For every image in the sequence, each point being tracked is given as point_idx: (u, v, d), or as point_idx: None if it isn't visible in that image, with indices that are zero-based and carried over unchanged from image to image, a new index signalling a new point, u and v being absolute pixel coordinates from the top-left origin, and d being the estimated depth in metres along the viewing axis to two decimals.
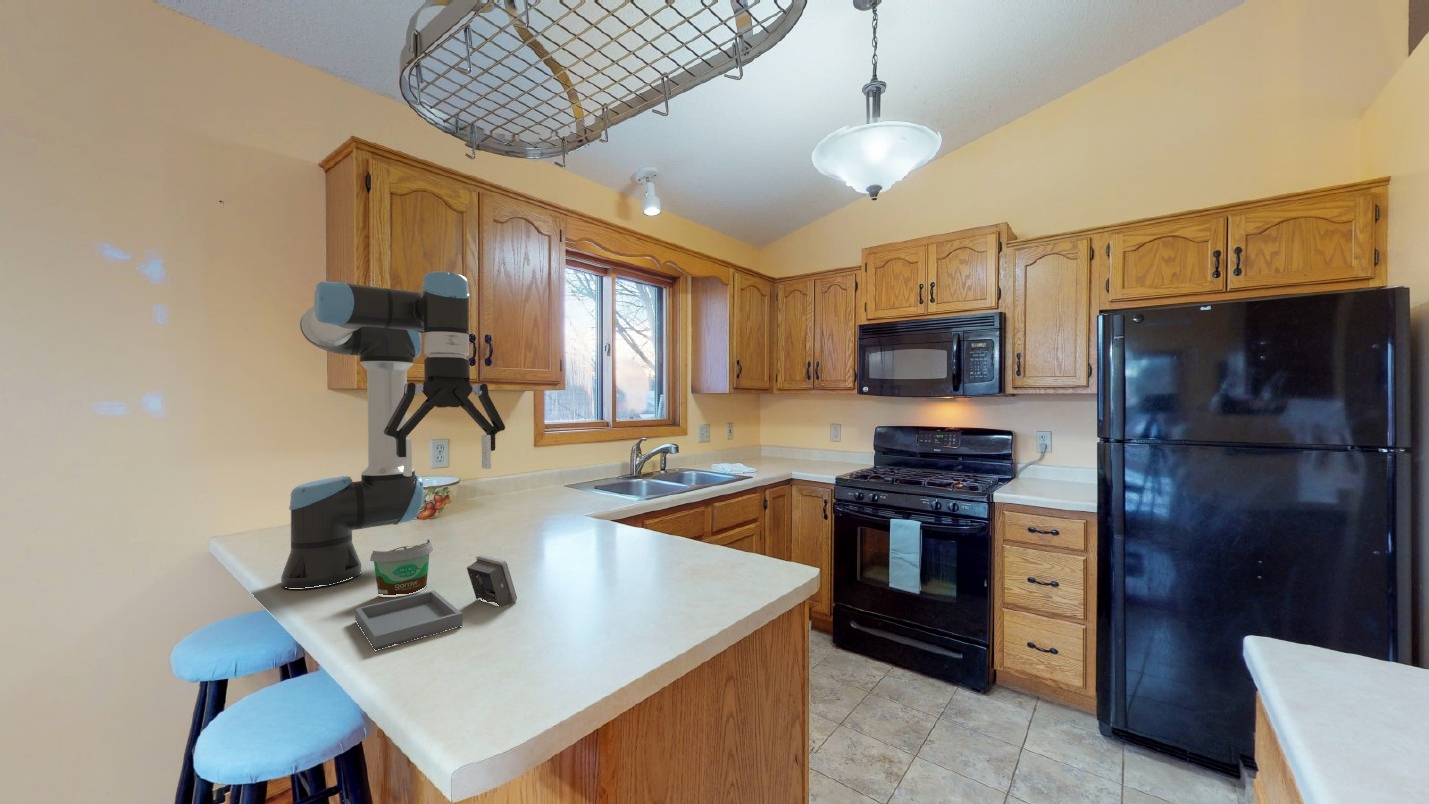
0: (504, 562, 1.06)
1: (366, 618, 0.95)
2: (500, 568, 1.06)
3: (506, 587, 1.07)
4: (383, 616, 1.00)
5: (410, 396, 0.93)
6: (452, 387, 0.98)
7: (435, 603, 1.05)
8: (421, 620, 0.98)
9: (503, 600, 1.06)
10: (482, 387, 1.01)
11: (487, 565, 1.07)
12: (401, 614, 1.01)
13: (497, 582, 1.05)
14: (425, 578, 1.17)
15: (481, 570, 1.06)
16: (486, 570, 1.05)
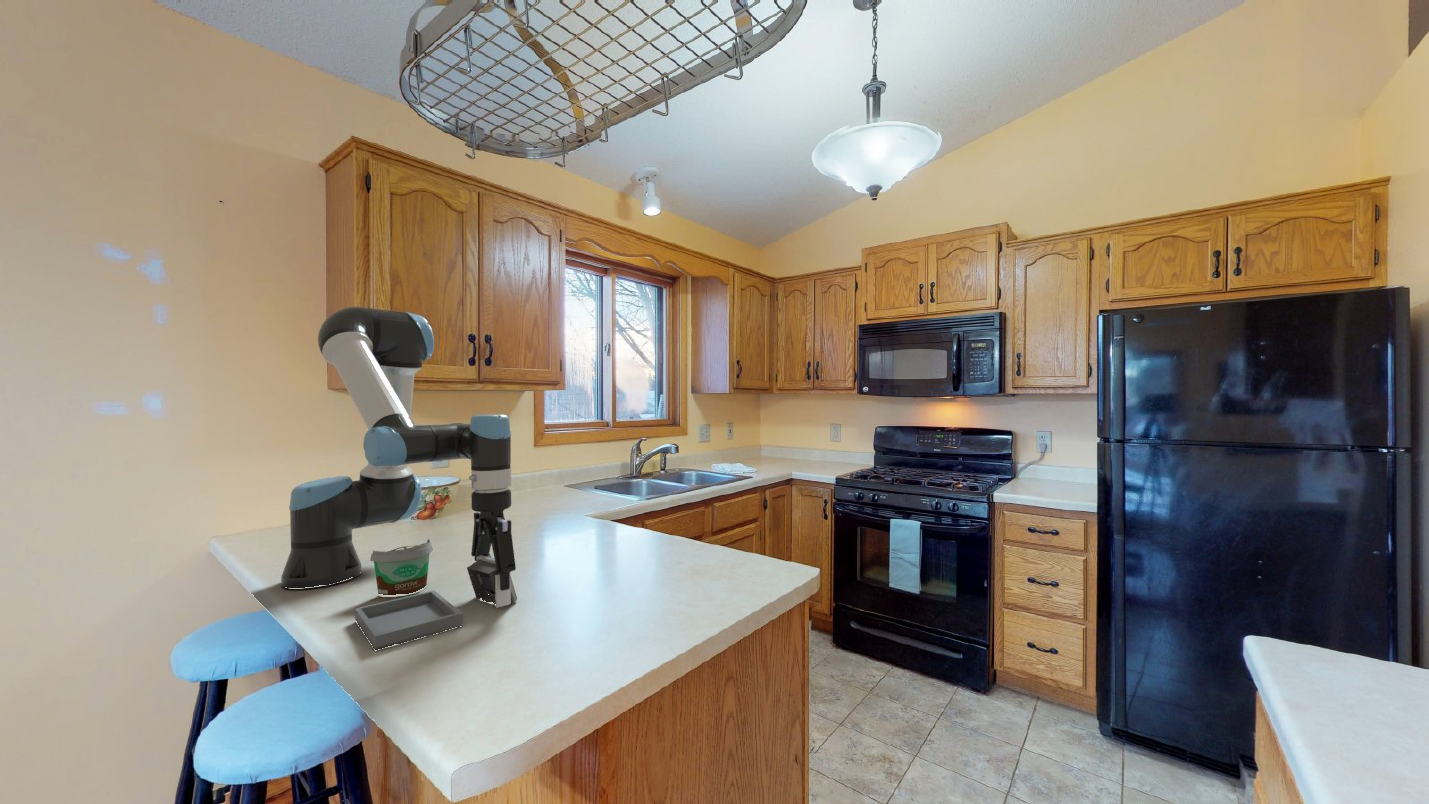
0: None
1: (366, 618, 0.95)
2: None
3: None
4: (383, 616, 1.00)
5: (475, 524, 1.12)
6: (487, 516, 1.07)
7: (435, 603, 1.05)
8: (421, 620, 0.98)
9: None
10: (497, 524, 1.03)
11: (487, 565, 1.07)
12: (401, 614, 1.01)
13: None
14: (425, 578, 1.17)
15: (481, 570, 1.05)
16: (486, 571, 1.05)
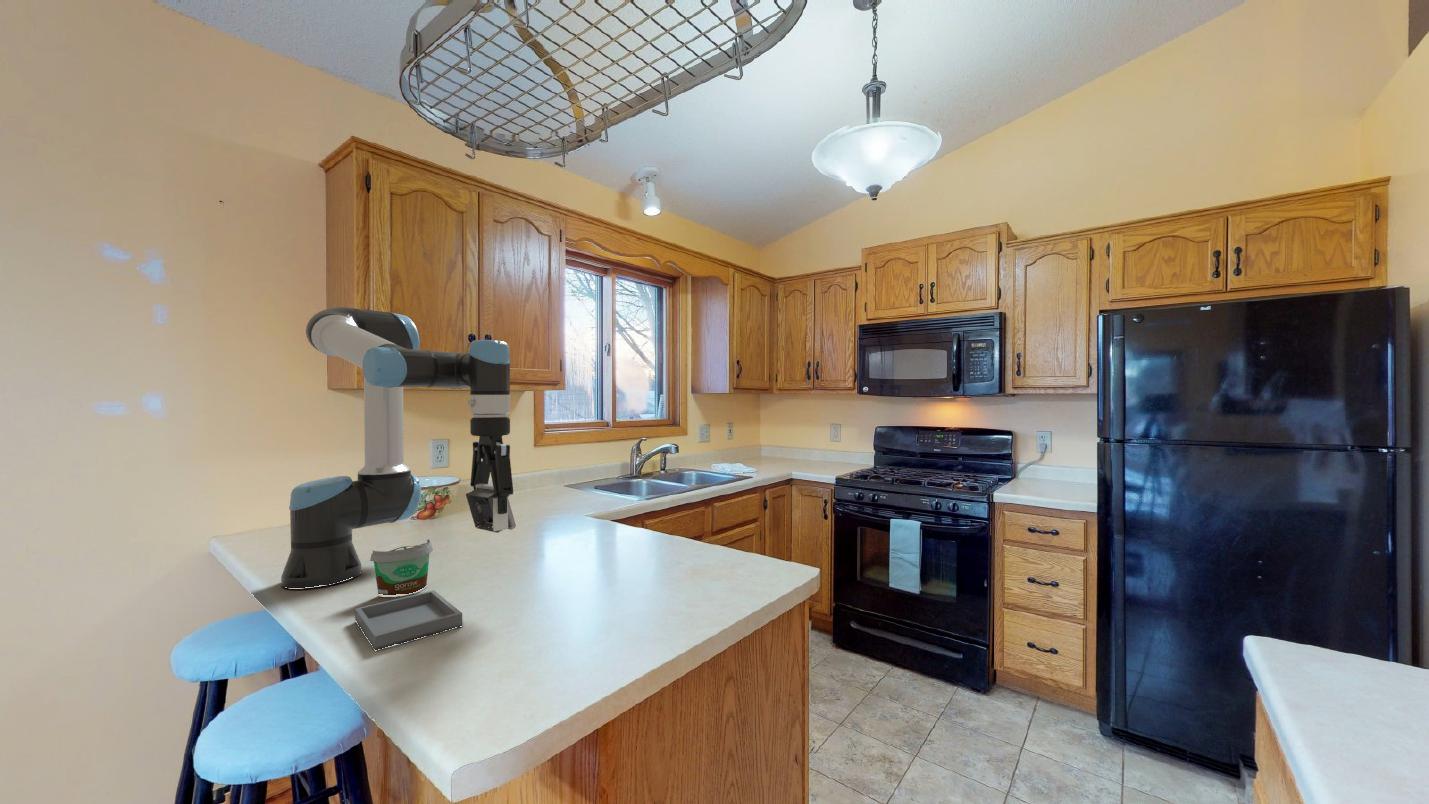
0: None
1: (366, 618, 0.95)
2: None
3: None
4: (383, 616, 1.00)
5: (474, 453, 1.12)
6: (486, 441, 1.07)
7: (435, 603, 1.05)
8: (421, 620, 0.98)
9: None
10: None
11: (486, 491, 1.07)
12: (401, 614, 1.01)
13: None
14: (425, 578, 1.17)
15: (480, 495, 1.05)
16: (485, 495, 1.05)
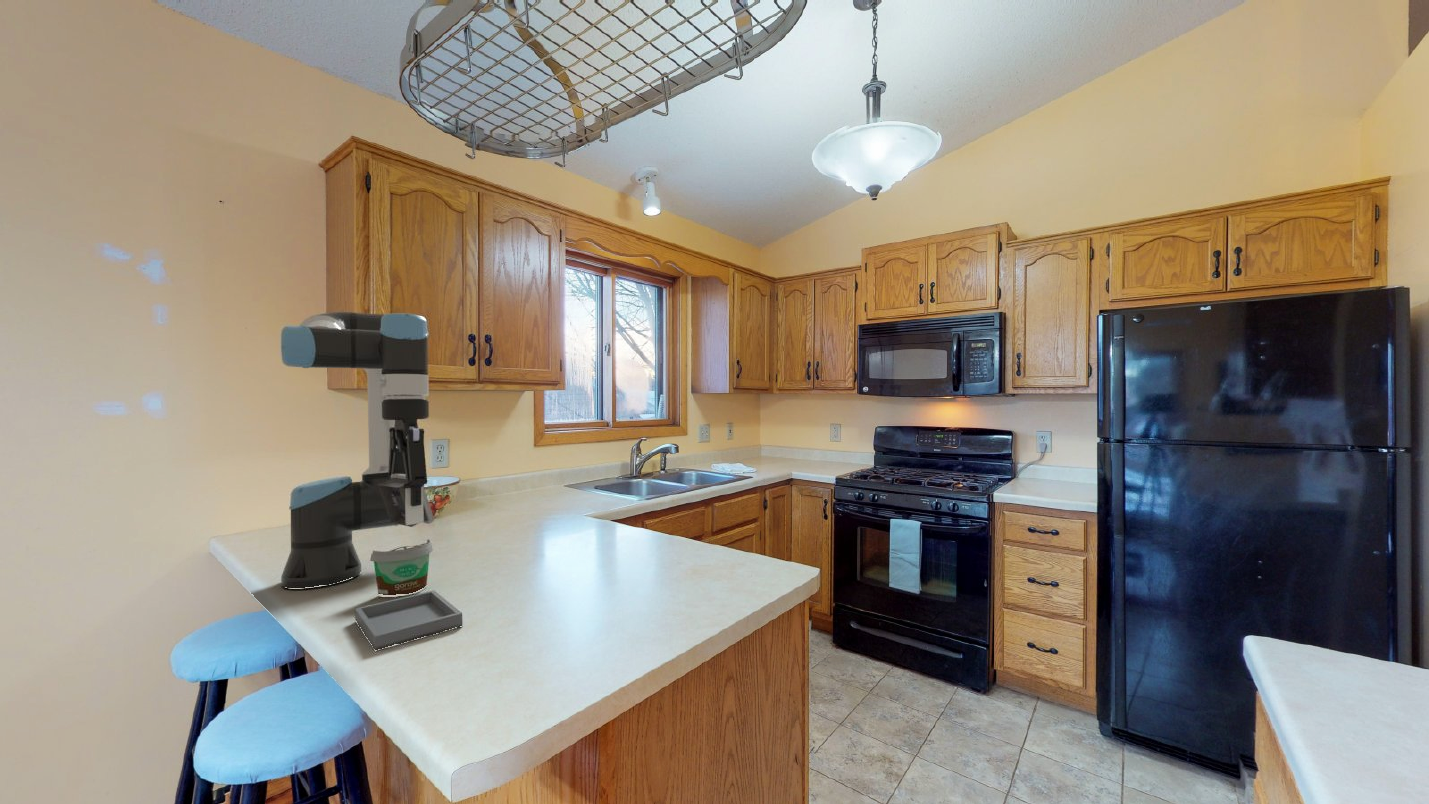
0: None
1: (366, 618, 0.95)
2: None
3: None
4: (383, 616, 1.00)
5: (390, 440, 1.02)
6: (400, 425, 0.97)
7: (435, 603, 1.05)
8: (421, 620, 0.98)
9: None
10: (407, 432, 0.93)
11: (400, 481, 0.96)
12: (401, 614, 1.01)
13: None
14: (425, 578, 1.17)
15: (391, 485, 0.95)
16: (397, 485, 0.94)
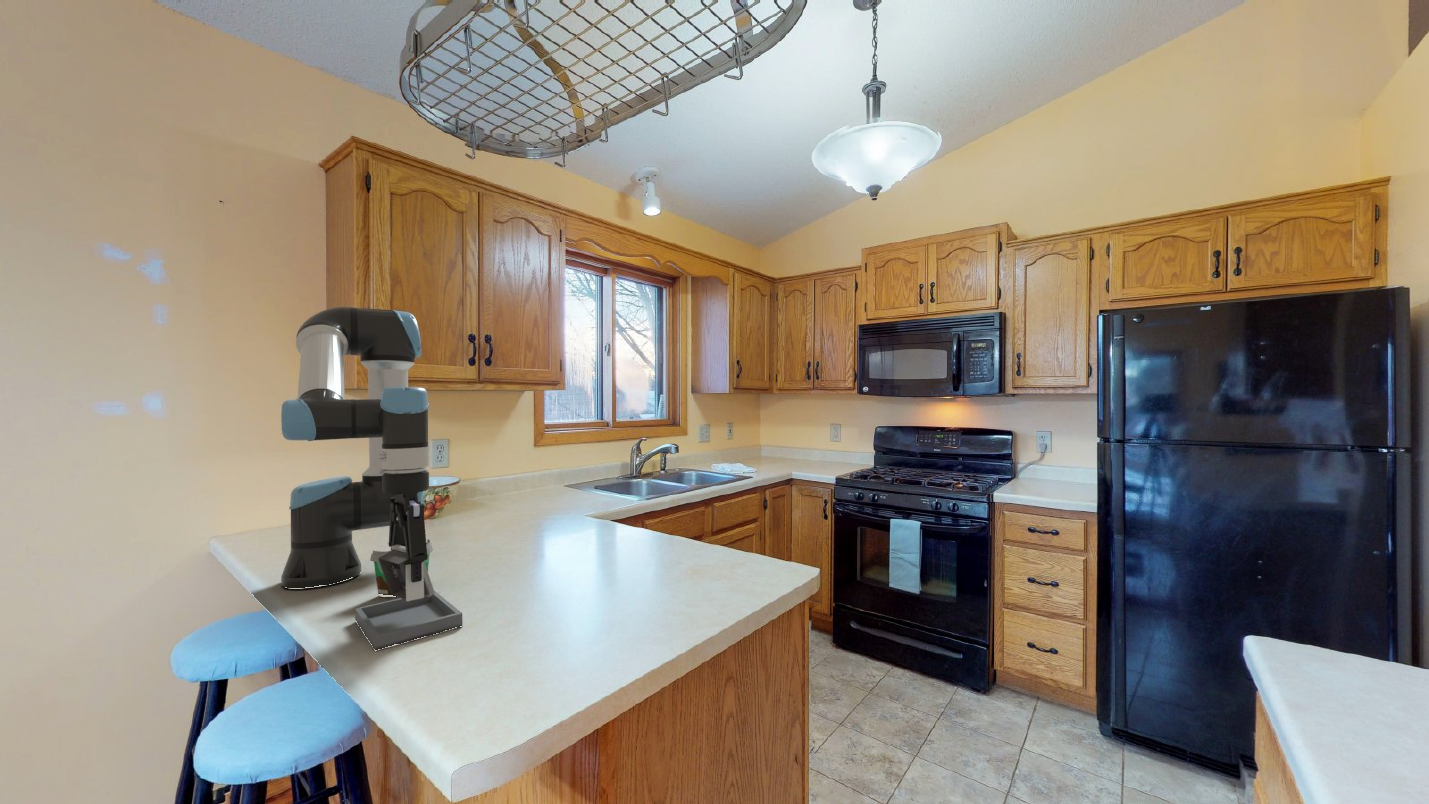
0: None
1: (366, 618, 0.95)
2: None
3: None
4: (383, 616, 1.00)
5: (391, 510, 1.01)
6: (400, 499, 0.97)
7: (435, 603, 1.05)
8: (421, 620, 0.98)
9: None
10: (407, 509, 0.93)
11: (400, 555, 0.96)
12: (401, 614, 1.01)
13: None
14: None
15: (392, 560, 0.95)
16: (397, 561, 0.94)
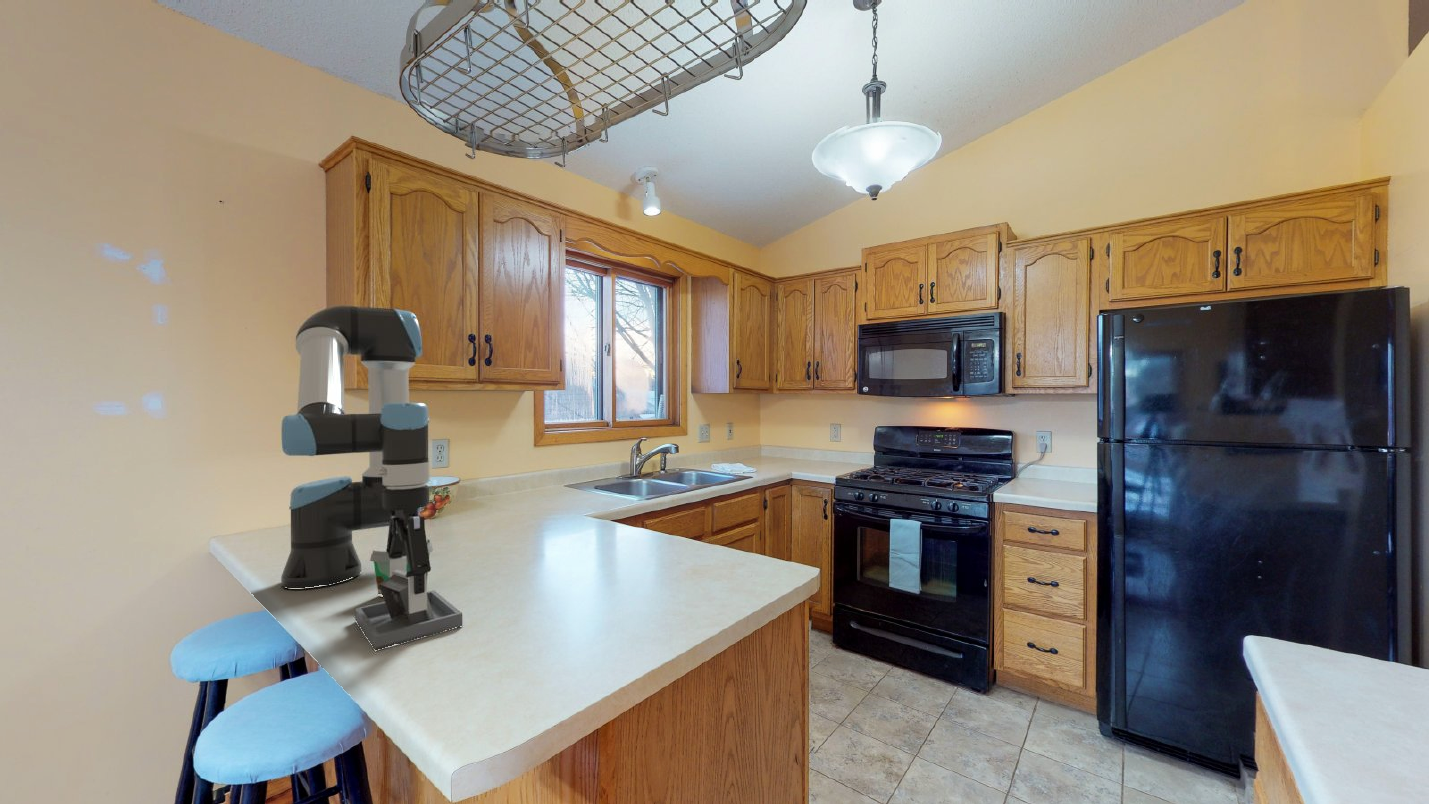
0: None
1: (366, 618, 0.95)
2: None
3: None
4: (383, 616, 1.00)
5: (390, 521, 1.02)
6: (400, 517, 0.97)
7: (435, 603, 1.05)
8: None
9: (417, 621, 0.95)
10: None
11: (400, 581, 0.96)
12: None
13: None
14: None
15: (392, 587, 0.94)
16: (397, 588, 0.94)
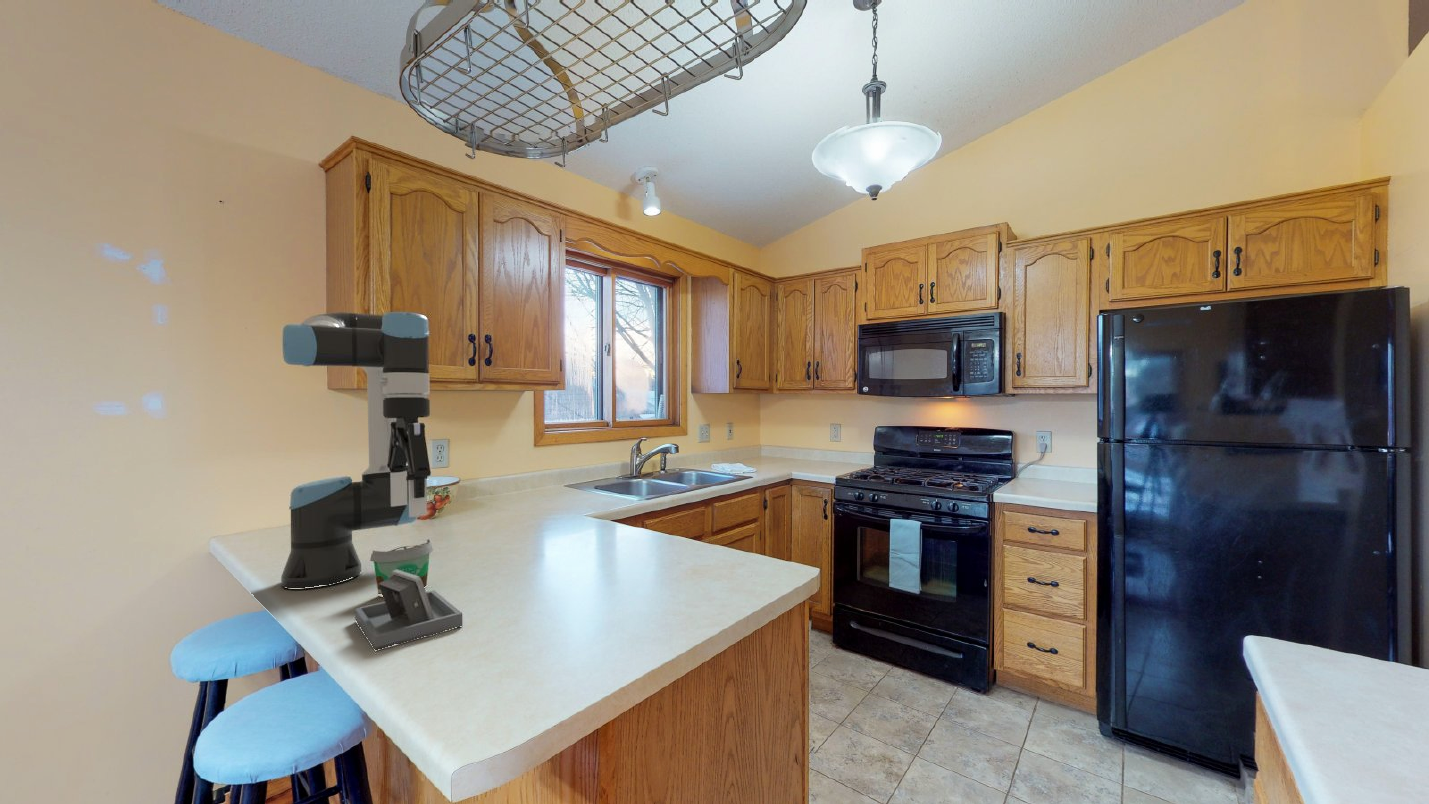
0: (418, 578, 0.95)
1: (366, 618, 0.95)
2: (413, 585, 0.95)
3: (421, 606, 0.96)
4: (383, 616, 1.00)
5: (391, 434, 1.03)
6: (401, 427, 0.98)
7: (435, 603, 1.05)
8: None
9: (417, 621, 0.95)
10: (407, 427, 0.94)
11: (400, 581, 0.96)
12: None
13: (409, 601, 0.94)
14: (425, 578, 1.17)
15: (392, 587, 0.94)
16: (397, 588, 0.94)
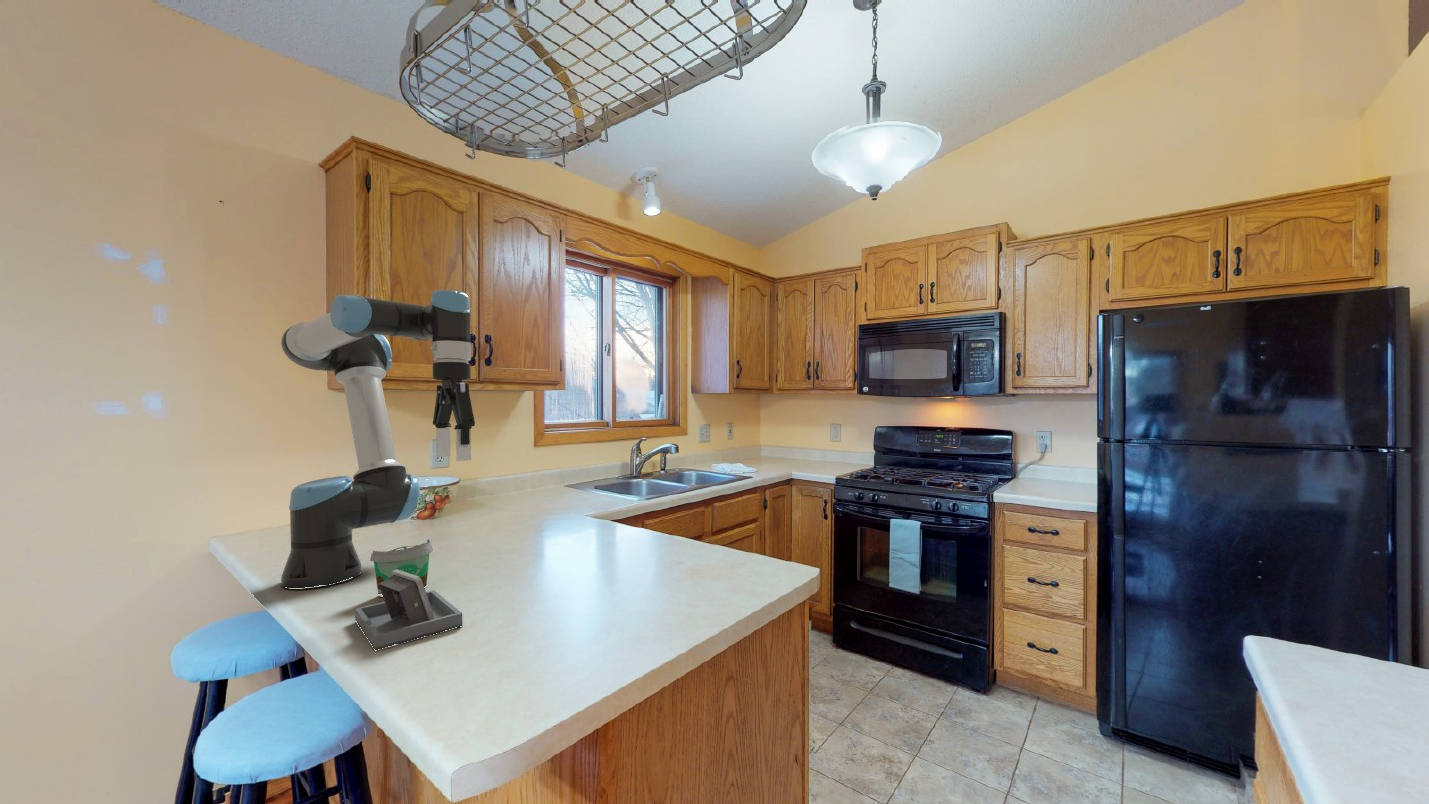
0: (418, 578, 0.95)
1: (366, 618, 0.95)
2: (413, 585, 0.95)
3: (421, 606, 0.96)
4: (383, 616, 1.00)
5: (437, 395, 1.21)
6: (447, 387, 1.16)
7: (435, 603, 1.05)
8: None
9: (417, 621, 0.95)
10: (455, 386, 1.12)
11: (400, 581, 0.96)
12: None
13: (409, 601, 0.94)
14: (425, 578, 1.17)
15: (392, 587, 0.94)
16: (397, 588, 0.94)
